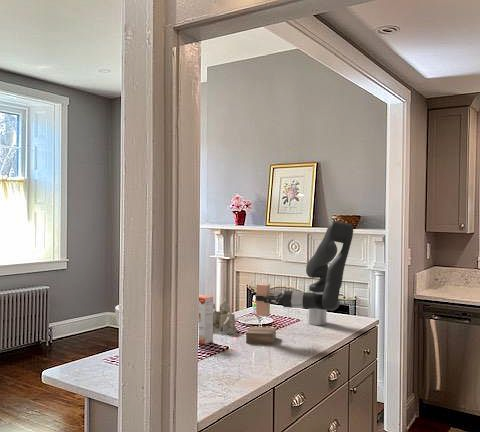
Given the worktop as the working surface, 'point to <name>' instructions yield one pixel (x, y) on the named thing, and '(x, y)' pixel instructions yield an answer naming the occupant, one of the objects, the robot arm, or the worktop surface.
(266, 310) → the terracotta block
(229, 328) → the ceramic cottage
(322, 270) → the robot arm
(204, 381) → the worktop surface
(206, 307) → the cracker box
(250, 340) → the walnut base
